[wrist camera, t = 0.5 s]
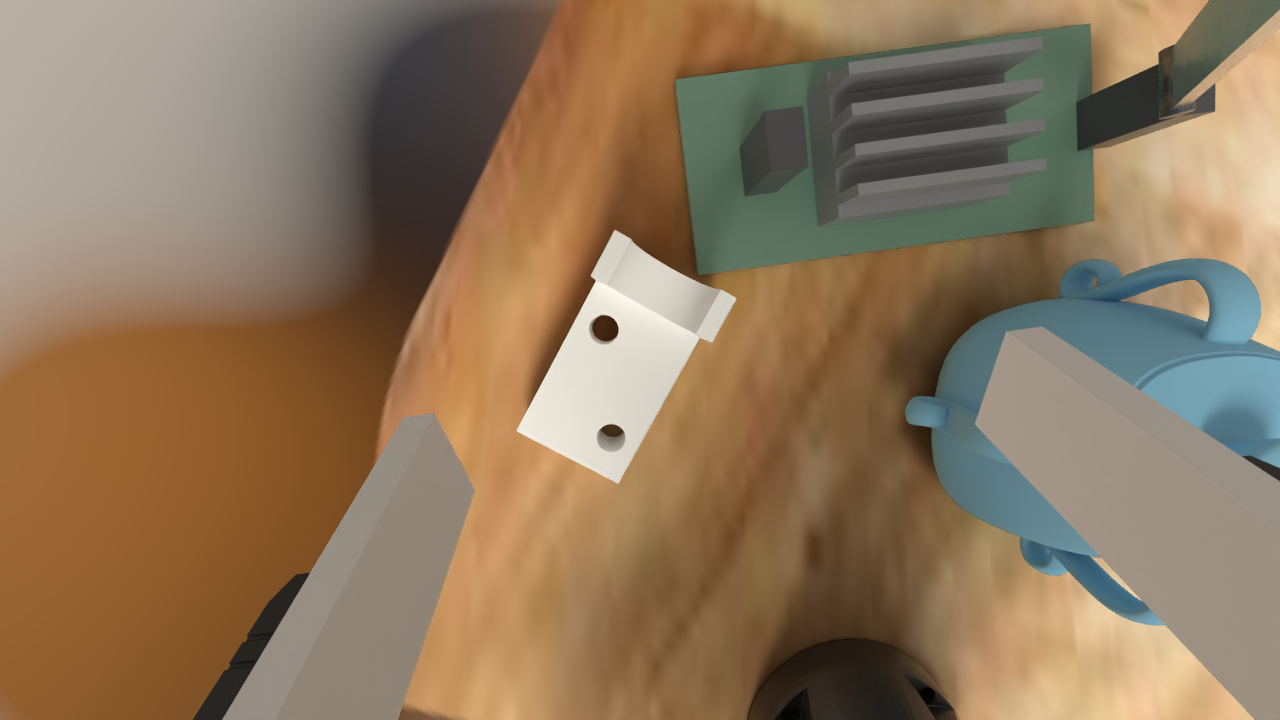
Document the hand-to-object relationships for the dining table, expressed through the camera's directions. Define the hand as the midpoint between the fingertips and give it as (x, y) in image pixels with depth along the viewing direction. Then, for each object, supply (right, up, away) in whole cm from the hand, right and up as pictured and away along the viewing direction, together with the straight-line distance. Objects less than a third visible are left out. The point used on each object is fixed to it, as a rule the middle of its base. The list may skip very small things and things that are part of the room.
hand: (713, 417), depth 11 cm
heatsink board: (+14, +15, +19) cm, 28 cm away
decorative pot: (+24, -2, +21) cm, 32 cm away
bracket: (-3, +1, +20) cm, 21 cm away
